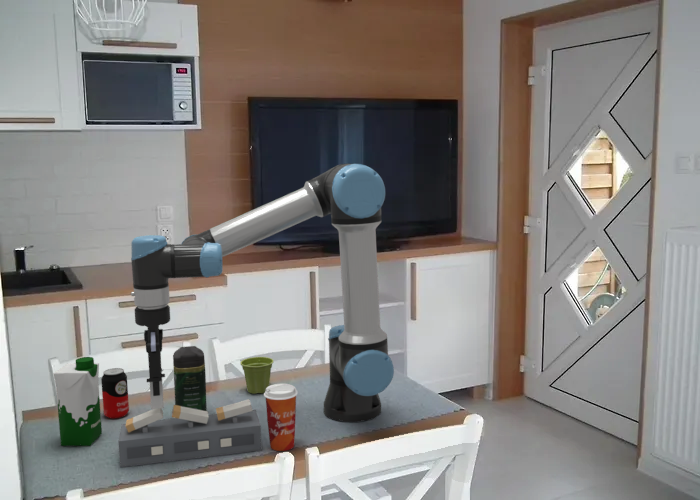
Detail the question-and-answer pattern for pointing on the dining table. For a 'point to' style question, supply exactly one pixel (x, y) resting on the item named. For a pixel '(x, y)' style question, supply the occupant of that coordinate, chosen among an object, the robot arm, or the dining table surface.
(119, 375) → the beverage can
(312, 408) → the dining table surface
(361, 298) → the robot arm
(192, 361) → the coffee jar
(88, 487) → the dining table surface
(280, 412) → the paper cup
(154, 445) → the console
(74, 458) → the dining table surface
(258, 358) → the plant pot
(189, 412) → the rocker
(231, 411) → the rocker
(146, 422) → the rocker
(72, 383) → the milk carton
